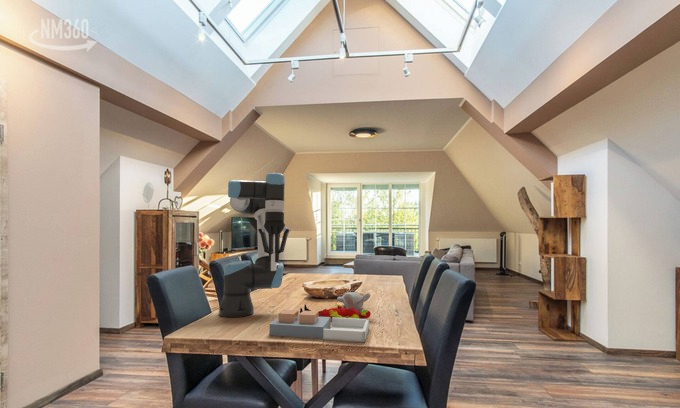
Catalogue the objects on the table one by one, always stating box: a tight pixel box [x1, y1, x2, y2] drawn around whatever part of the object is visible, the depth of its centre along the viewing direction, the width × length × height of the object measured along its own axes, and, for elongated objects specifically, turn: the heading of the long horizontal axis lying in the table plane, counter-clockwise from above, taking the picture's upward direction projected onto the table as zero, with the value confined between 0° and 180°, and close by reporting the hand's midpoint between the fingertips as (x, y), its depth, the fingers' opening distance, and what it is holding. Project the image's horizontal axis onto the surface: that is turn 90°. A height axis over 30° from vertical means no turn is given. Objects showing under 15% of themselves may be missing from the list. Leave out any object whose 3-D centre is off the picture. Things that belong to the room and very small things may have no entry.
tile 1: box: [277, 309, 299, 322], centre depth 137 cm, size 6×6×3 cm
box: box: [323, 317, 370, 343], centre depth 133 cm, size 14×17×4 cm
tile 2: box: [298, 310, 320, 323], centre depth 136 cm, size 6×6×3 cm
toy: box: [336, 291, 371, 313], centre depth 168 cm, size 12×10×30 cm
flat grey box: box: [268, 315, 332, 340], centre depth 136 cm, size 20×14×4 cm
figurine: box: [299, 303, 371, 319], centre depth 155 cm, size 12×6×30 cm
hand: (273, 270), depth 144 cm, fingers closed
